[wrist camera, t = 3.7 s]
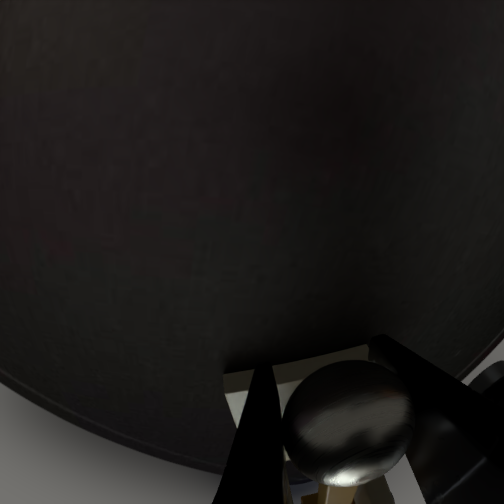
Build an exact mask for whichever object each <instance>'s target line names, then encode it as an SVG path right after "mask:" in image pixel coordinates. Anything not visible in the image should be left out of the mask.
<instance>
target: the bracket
mask: <svg viewBox="0 0 504 504" xmlns="http://www.w3.org/2000/svg"><path fill="white" fill-rule="evenodd" d="M368 352H369V348H368V346H367V344H364V345H360V346H357V347H353V348H349V349H345V350H341V351H337V352H333V353H329V354H325V355H321V356H317V357H312V358H308V359H303V360H299V361H294V362H289V363H284V364H279V365H274V366H272V368H273V372H274V376H275V380H276V384H277V388H278V392H279V397H280V405H281V413H282V417H283V413H284V409H285V407H286V404H287V402H288V400H289V398H290V396H291V395H292V393H293V391H294V390H295V389H296V387H297V386H298V385H299V384H300V383H301V382H302V381H303V380H304V379H305V378H306V377H307V376H309V375H310V374H311V373H313V372H314V371H316V370H318V369H320V368H322V367H324V366H326V365H329V364H331V363H335V362H338V361H343V360H365V361H368ZM253 373H254V369H252V370H246V371H240V372H234V373H228V374H223V382H224V394H225V397H226V399H227V402H228V405H229V408H230V411H231V413H232V416H233V419H234V422H235V425H236V427H237V428H238V424H239V421H240V418H241V414H242V411H243V407H244V404H245V401H246V397H247V394H248V390H249V387H250V383H251V380H252V376H253ZM285 454H286V461H287V460H290V459H289V457H288V455H287V453H286V451H285ZM287 487H288V504H293V500H292V496H291V491H290V487H289V481H288V477H287ZM354 501H355V504H395V502H394V498H393V495H392V493H391V492H390V490H389V487H388V484H387V482H386V479H385V476H384V475H382V476H381V477H379V478H377V479H375V480H373V481H370V482H368V483H365V484H362V485H359V486H358V488H357V491H356V494H355V496H354Z"/></svg>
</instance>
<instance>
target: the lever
mask: <svg viewBox="0 0 504 504" xmlns="http://www.w3.org/2000/svg"><path fill="white" fill-rule="evenodd" d="M414 428H415V409H414V403H413V400H412V397H411V395H410V393H409V391H408V389H407V387H406V386H405V384H404V383H403V382H402V380H401V379H400V378H399V377H398V376H397V375H396V374H394V373H393V372H392V371H390V370H389V369H387V368H386V367H383V366H381V365H379V364H376V363H373V362H369V361H365V360H343V361H338V362H335V363H331V364H329V365H326V366H324V367H322V368H320V369H318V370H316V371H314V372H313V373H311V374H310V375H309V376H307V377H306V378H305V379H304V380H303V381H302V382H301V383H300V384H299V385H298V386H297V387H296V389H295V390H294V391H293V393H292V395H291V396H290V398H289V400H288V402H287V404H286V407H285V409H284V413H283V417H282V436H283V444H284V448H285V451H286V453H287V455H288V457H289V459H290V460H291V462H292V463H293V464H294V466H295V467H296V468H297V469H298V470H299V471H300V472H301V473H303V474H304V475H305V476H307V477H308V478H310V479H312V480H314V481H316V482H318V483H319V488H318V493H315V494H311V495H306V496H302V497H301V504H355V501H354V496H355V494H356V491H357V488H358V486H359V485H362V484H365V483H368V482H370V481H373V480H375V479H377V478H379V477H381V476H382V475H384V474H385V473H387V472H388V471H389V470H390V469H391V468H393V466H395V465H396V464H397V463H398V461H399V460H400V459H401V458H402V456H403V455H404V454H405V452H406V450H407V448H408V446H409V445H410V442H411V439H412V436H413V433H414Z"/></svg>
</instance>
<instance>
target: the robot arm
mask: <svg viewBox="0 0 504 504" xmlns="http://www.w3.org/2000/svg"><path fill="white" fill-rule="evenodd" d="M368 361H369V362H373V363H376V364H379V365H381V366H383V367H386V368H387V369H389V370H390V371H392V372H393V373H394V374H396V375H397V376H398V377H399V378H400V379H401V380H402V382H403V383H404V384H405V386H406V387H407V389H408V391H409V393H410V395H411V397H412V400H413V403H414V409H415V428H414V433H413V436H412V439H411V442H410V445H409V446H408V448H407V450H406V452H405V454H406V457H407V459H408V461H409V464H410V466H411V468H412V470H413V473H414V475H415V478H416V480H417V482H418V485H419V487H420V490H421V492H422V494H423V497H424V499H425V502H426V504H504V379H503V380H501V381H500V382H498V383H496V384H495V385H493V386H491V387H490V388H488V389H486V390H485V391H484V392H483V393H482V394H479V393H478V392H476V391H475V390H472V389H471V388H470V387H468V386H467V385H465V384H463V383H462V382H460V381H459V380H457V379H455V378H454V377H452V376H451V375H449V374H448V373H446V372H444V371H443V370H441V369H440V368H438V367H436V366H435V365H433V364H432V363H430V362H428V361H427V360H425V359H424V358H422V357H421V356H419V355H417V354H416V353H414V352H413V351H411V350H409V349H408V348H406V347H405V346H403V345H402V344H400V343H398V342H397V341H395V340H394V339H392V338H390V337H389V336H387V335H385V334H381V335H377V336H374V337H372V338H371V340H370V346H369V352H368ZM226 465H227V466H226V467H225V470H224V473H223V476H222V479H221V482H220V485H219V487H218V490H217V493H216V495H215V498H214V500H213V502H212V504H288V487H287V470H286V454H285V448H284V444H283V436H282V413H281V405H280V397H279V392H278V388H277V384H276V380H275V376H274V372H273V368H272V364H271V362H269V361H267V362H262V363H257V364H256V366H255V369H254V373H253V376H252V380H251V383H250V387H249V390H248V394H247V397H246V401H245V404H244V407H243V411H242V414H241V418H240V421H239V424H238V428H237V431H236V434H235V438H234V441H233V444H232V448H231V451H230V454H229V457H228V461H227V464H226Z"/></svg>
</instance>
